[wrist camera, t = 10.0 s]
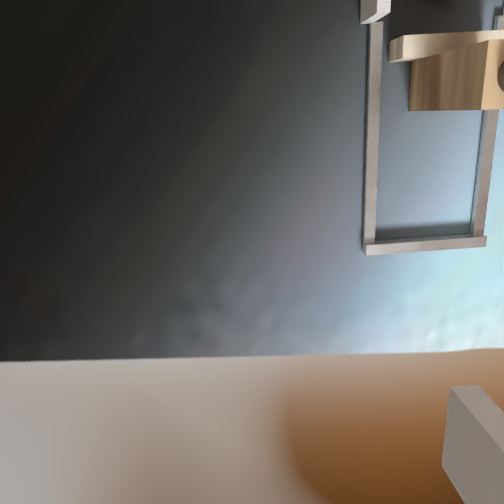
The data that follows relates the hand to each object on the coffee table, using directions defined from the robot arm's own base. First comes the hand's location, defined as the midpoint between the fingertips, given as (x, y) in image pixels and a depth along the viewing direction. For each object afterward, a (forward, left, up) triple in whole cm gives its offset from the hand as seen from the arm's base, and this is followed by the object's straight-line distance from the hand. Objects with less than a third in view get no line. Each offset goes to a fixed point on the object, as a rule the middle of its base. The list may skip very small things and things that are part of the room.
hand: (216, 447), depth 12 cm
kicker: (+19, +10, -29) cm, 36 cm away
